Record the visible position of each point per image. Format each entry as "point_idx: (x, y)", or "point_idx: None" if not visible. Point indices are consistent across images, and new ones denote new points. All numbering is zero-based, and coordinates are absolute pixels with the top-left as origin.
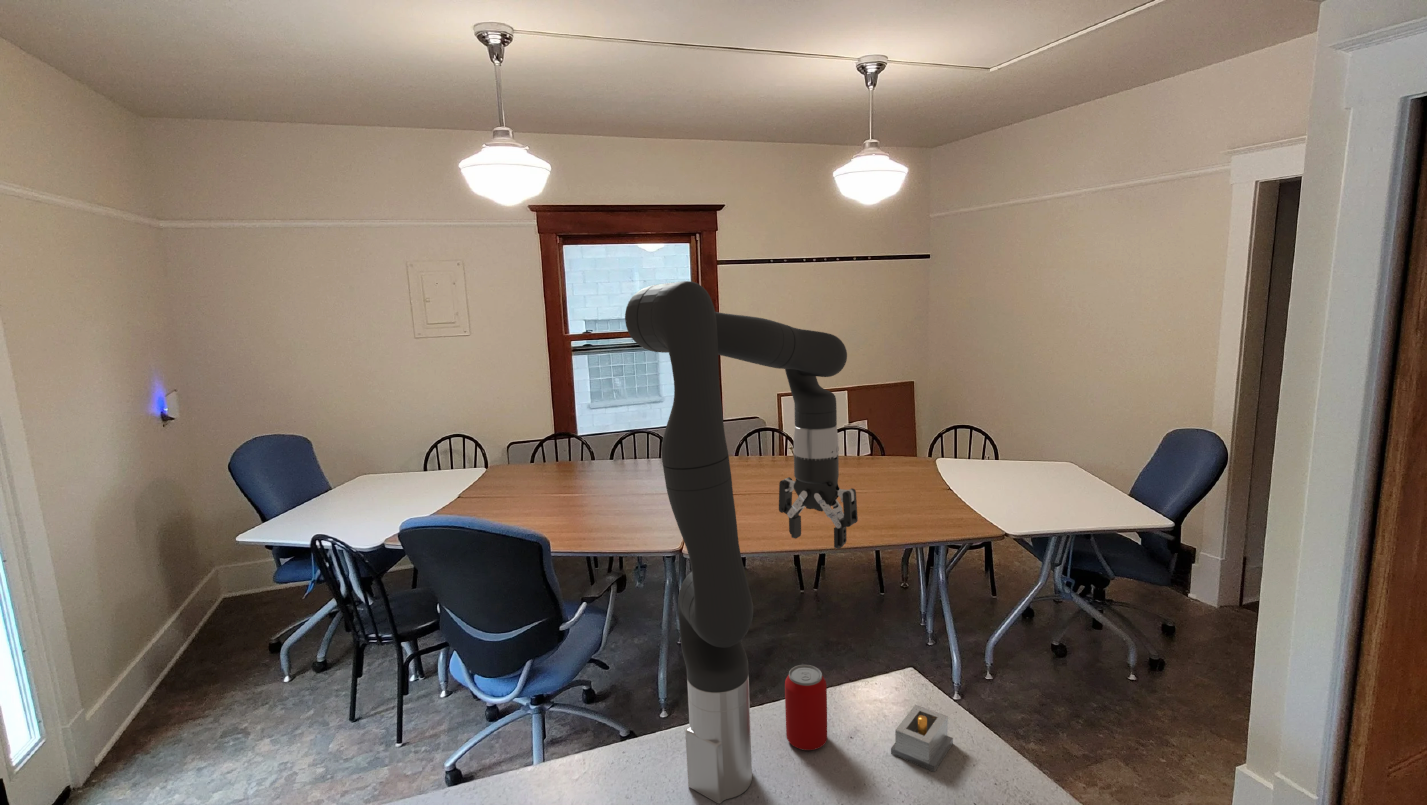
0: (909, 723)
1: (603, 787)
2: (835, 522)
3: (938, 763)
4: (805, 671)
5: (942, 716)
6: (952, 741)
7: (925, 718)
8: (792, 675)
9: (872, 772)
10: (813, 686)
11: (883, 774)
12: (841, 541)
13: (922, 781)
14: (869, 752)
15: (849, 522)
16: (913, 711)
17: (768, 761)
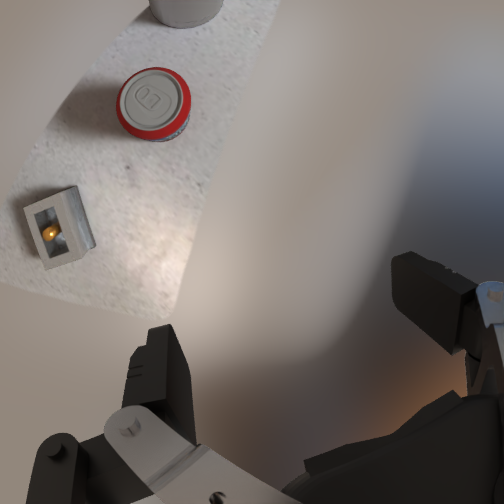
0: (58, 218)
1: None
2: (145, 433)
3: None
4: (160, 108)
5: (48, 264)
6: None
7: (45, 237)
8: (166, 80)
9: (70, 142)
10: (121, 92)
11: (60, 151)
12: (133, 362)
13: (31, 180)
14: (94, 165)
15: (42, 459)
16: (72, 243)
17: (167, 52)
